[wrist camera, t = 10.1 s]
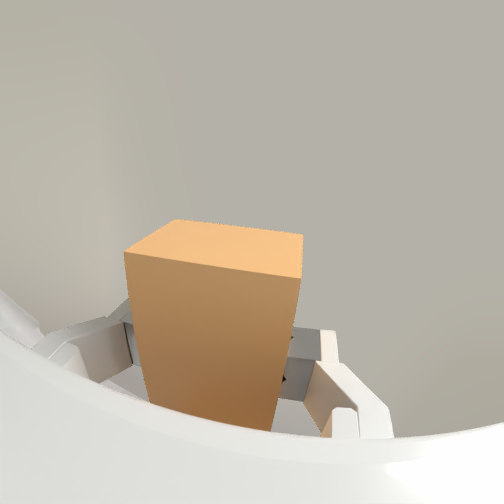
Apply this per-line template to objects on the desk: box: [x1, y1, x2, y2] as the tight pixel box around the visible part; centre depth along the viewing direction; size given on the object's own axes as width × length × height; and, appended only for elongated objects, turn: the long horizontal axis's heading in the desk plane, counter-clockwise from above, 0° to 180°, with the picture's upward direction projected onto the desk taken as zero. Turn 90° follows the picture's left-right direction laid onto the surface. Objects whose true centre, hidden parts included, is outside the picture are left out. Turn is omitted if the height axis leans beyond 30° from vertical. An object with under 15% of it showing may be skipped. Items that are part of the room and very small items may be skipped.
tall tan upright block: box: [124, 219, 303, 432], centre depth 11 cm, size 4×12×22 cm, turn 170°
